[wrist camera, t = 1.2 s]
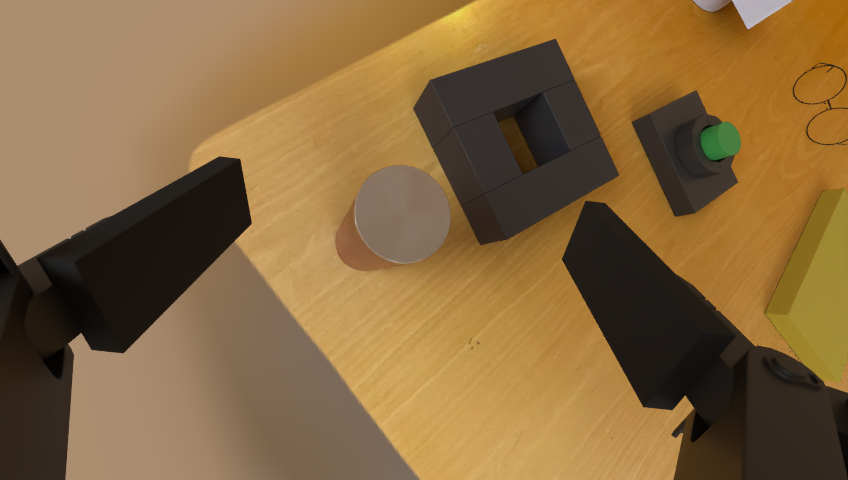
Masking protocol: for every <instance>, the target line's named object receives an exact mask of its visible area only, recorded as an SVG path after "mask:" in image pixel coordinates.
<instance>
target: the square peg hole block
mask: <svg viewBox="0 0 848 480" xmlns="http://www.w3.org/2000/svg"><path fill="white" fill-rule="evenodd" d="M413 109H414V111H415V113H416V115H417V117H418V119H419V121H420V123H421V125H422V127H423V129H424V131H425V133H426V135H427V138H428V140H429V142H430V144H431V146H432V148H433V149H434V152H435V154H436V156H437V158H438V160H439V162H440V164H441V166H442V168H443V170H444V172H445V174H446V176H447V178H448V180H449V182H450V184H451V186H452V188H453V190H454V192H455V194H456V197H457V199H458V201H459V203H460V205H462V208H463V211H464V213H465V215H466V217H467V219H468V221H469V223H470V225H471V227H472V229H473V231H474V233H475V235H476V237H477V239H478V241H479V243H480V245H483V244H488V243H493V242H497V241H502V240H507V239H509V238H511V237H513V236H515V235H516V234H518V233H520V232H522V231H523V230H525V229H527V228H529V227H530V226H532V225H534V224H535V223H537V222H539V221H541V220H542V219H544V218H546V217H548V216H549V215H551V214H553V213H555V212H556V211H558V210H560V209H562V208H563V207H565V206H567V205H569V204H570V203H572V202H574V201H576V200H577V199H579V198H581V197H583V196H584V195H586V194H588V193H590V192H591V191H593V190H595V189H596V188H598V187H600V186H602V185H603V184H605V183H607V182H609V181H610V180H612V179H614V178H616V177H617V176H619V174H618V171H617V169H616V167H615V165H614V163H613V161H612V159H611V156H610V154H609V152H608V150H607V148H606V146H605V144H604V141H603V139H602V137H601V135H600V133H599V131H598V128H597V126H596V124H595V122H594V120H593V118H592V116H591V113H590V111H589V109H588V107H587V105H586V103H585V101H584V98H583V96H582V94H581V92H580V90H579V88H578V86H577V83H576V81H575V80H574V77H573V75H572V73H571V70H570V68H569V66H568V64H567V62H566V60H565V58H564V55H563V53H562V51H561V49H560V47H559V45H558V43H557V40H556V39H554V40H551V41H548V42H545V43H541V44H538V45H535V46H532V47H529V48H526V49H523V50H520V51H517V52H514V53H511V54H508V55H505V56H502V57H499V58H496V59H493V60H490V61H487V62H483V63H480V64H477V65H474V66H471V67H468V68H465V69H462V70H459V71H456V72H453V73H450V74H447V75H444V76H441V77H438V78H435V79H432V80H430V81H429V83H428V84H427V86H426V88H425V89H424V91H423V93H422V95H421V96H420V98H419V100H418V101H417V103H416V105H415V106H414V108H413ZM512 116H514V118H515V120H516V122H517V124H518V126H519V128H520V130H521V132H522V134H523V136H524V139H525V141H526V143H527V145H528V147H529V149H530V151H531V153H532V155H533V157H534V159H535V162H536V164H537V166H538V167H537V168H535V169H533V170H531V171H529V172H527V173H525V174H523V173H522V171H521V169H520V167H519V165H518V163H517V161H516V159H515V157H514V155H513V153H512V150H511V148H510V146H509V144H508V142H507V140H506V138H505V136H504V134H503V132H502V130H501V128H500V125H499V123H498V122H500V121H502V120H505V119H507V118H510V117H512Z"/></svg>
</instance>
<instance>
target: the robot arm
mask: <svg viewBox="0 0 848 480" xmlns="http://www.w3.org/2000/svg"><path fill="white" fill-rule="evenodd" d="M251 224H252V222H251V216H250V211H249V205H248V200H247V194H246V188H245V183H244V177H243V172H242V166H241V161H240V159H236V158H228V157H220V156H219V157H218V158H216V159H214V160H212V161H210V162H209V163H207V164H205V165H203V166H201V167H200V168H198V169H196V170H194V171H192V172H191V173H189V174H187V175H185V176H183V177H182V178H180V179H178V180H176V181H174V182H173V183H171V184H169V185H167V186H165V187H164V188H162V189H160V190H158V191H156V192H155V193H153V194H151V195H149V196H147V197H146V198H144V199H142V200H140V201H138V202H137V203H135V204H133V205H131V206H129V207H128V208H126V209H124V210H122V211H120V212H119V213H117V214H115V215H113V216H110V217H108V218H104V219H102V220H100V221H98V222H97V223H95V224H93V225H91V226H89V227H87V228H86V230H85V231H83V230H82V231H80V232H78V233H76V234H75V235H73V236H71V239H65V240H64V241H62V242H60V243H58V244H56V245H55V246H53V247H51V248H49V249H47V250H45V251H44V252H42V253H40V254H38V255H37V256H34V257H33V258H31V259H29V260H27V261H25V262H24V263H22V264H20V265H18V266H17V265H16V263H15V262H14V260H13V259H12V257H11V256H10V254H9V253H8V251H7V249H6V248H5V246H4V245H3V243H2V242H1V240H0V480H65V475H66V462H67V446H68V433H69V418H70V404H71V389H72V388H71V387H72V374H73V360H74V354H73V352H72V349H71V348H70V346H69V345H68V343H70V342H71V341H72V340H73V339H74V338H76V337H77V336H78V335H79V334H80V333H82V335H83V336H84V338H85V340H86V341H87V343H88V344H89V346H90V348H91V350H97V351H107V352H117V353H124V352H125V351H126V350H127V349H128V348H129V347H130V346H131V345H132V344H133V343H134V342H135V341H136V340H137V339H138V338H139V337H140V336H141V335H142V334H143V333H144V332H145V331H146V330H147V329H148V328H149V327H150V326H151V325H152V324H153V323H154V322H155V321H156V320H157V319H158V318H159V317H160V316H161V315H162V314H163V313H164V312H165V311H166V310H167V309H168V308H169V307H170V306H171V305H172V304H173V303H174V302H175V300H177V299H178V297H180V296H181V294H183V293H184V292H185V291H186V290H187V289H188V288H189V286H191V285H192V283H194V281H195V280H196V279H197V278H198V277H199V276H200V275H201V274H202V273H203V272H204V271H205V270H206V269H207V268H208V267H209V266H210V265H211V264H212V263H213V262H214V261H215V260H216V259H217V258H218V257H219V256H220V255H221V254H222V253H223V252H224V251H225V250H226V249H227V248H228V247H229V246H230V245H231V244H232V243H233V242H234V241H235V240H236V239H237V238H238V237H239V236H240V235H241V234H242V233H243V232H244V231H245V230H246V229H247V228H248V227H249V226H250V225H251ZM562 260H563V262H564V264H565V266H566V268H567V270H568V271H569V273H570V275H571V277H572V279H573V280H574V282H575V284H576V286H577V288H578V289H579V291H580V293H581V295H582V297H583V299H584V300H585V302H586V304H587V306H588V308H589V309H590V311H591V313H592V315H593V317H594V318H595V320H596V322H597V324H598V326H599V328H600V329H601V331H602V333H603V335H604V337H605V338H606V340H607V342H608V344H609V346H610V347H611V349H612V351H613V353H614V355H615V356H616V358H617V360H618V362H619V364H620V366H621V367H622V369H623V371H624V373H625V375H626V376H627V378H628V380H629V382H630V384H631V385H632V387H633V389H634V391H635V393H636V395H637V396H638V398H639V400H640V402H641V404H642V405H643V407H647V408H657V409H667V410H673V409H674V408H675V406H676V405H677V404H678V403H679V402H680V401H681V400H682V398H683V397H684V396H685V395H686V397H687V398H688V400H689V401H690V403H691V404H692V406H693V407H694V409H693V410H692V411H691V413H690V414H689V415H688V416H687V417H686V418H685V419H684V420H683V421H682V422H681V423H680V424H679V426H678V427H677V428H676V429H675V430H674V431H673V433H672V434H671V435H672V436H674V437H675V438H676V437H677V436H678V435H679V434H680V433H683V437H682V442H681V447H680V452H679V456H678V461H677V466H676V471H675V475H674V480H848V393H846V392H843V391H840V390H837V389H834V388H831V387H828V386H825V384H824V382H823V381H822V380H821V379H820V378H819V377H818V376H817V375H816V374H815V373H814V372H813V371H812V370H810V369H809V368H808V367H806V366H805V365H803V364H802V363H801V362H799V361H797V360H795V359H794V358H792V357H790V356H788V355H786V354H784V353H782V352H779V351H777V350H774V349H771V348H767V347H762V346H754V345H753V344H752V343H751V342H750V341H749V340H748V339H747V338H746V337H745V336H744V335H743V334H742V333H741V332H740V331H739V330H738V329H737V328H736V327H735V326H734V325H733V324H732V323H731V322H730V321H729V320H728V319H727V318H726V317H725V316H724V315H723V314H722V313H721V312H720V311H717V310H716V308H715V307H714V306H713V305H712V304H711V303H710V302H709V301H708V300H705V297H704V296H703V295H702V294H701V293H700V292H699V291H698V290H697V289H696V288H695V287H694V286H693V285H692V284H690V283H689V282H687V281H686V280H684V279H682V278H681V277H679V276H678V275H676V274H675V273H674V272H673V271H672V270H671V269H670V268H669V267H668V266H667V265H666V264H665V263H664V262H663V261H662V260H661V259H660V258H659V257H658V256H657V255H656V254H655V253H654V252H653V251H652V250H651V249H650V248H649V247H648V246H647V245H646V244H645V243H644V242H643V241H642V240H641V239H640V238H639V237H638V236H637V235H636V234H635V233H634V232H633V231H632V230H631V229H630V228H629V227H628V226H627V225H626V224H625V223H624V222H623V221H622V220H621V219H620V218H619V217H618V216H617V215H616V214H615V213H614V212H613V211H612V210H611V209H610V208H609V207H608V206H607V205H606V204H605V203H599V202H591V201H585V204H584V206H583V209H582V211H581V214H580V216H579V218H578V221H577V223H576V226H575V228H574V231H573V233H572V236H571V238H570V241H569V243H568V246H567V248H566V251H565V253H564V256H563V258H562Z"/></svg>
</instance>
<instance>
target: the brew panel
mask: <svg viewBox="0 0 848 480" xmlns="http://www.w3.org/2000/svg"><path fill="white" fill-rule="evenodd" d="M720 123H722V122H721V120H720V119H719V118H718V117H716V116H712V115H708V114H707V112H706V110H705V108H704V106H703V103H702V101H701V99H700V97H699V95H698V92H697V91H694V92H692V93H690V94H688V95H686V96H684V97H682V98H680V99H678V100H676V101H674V102H672V103H670V104H668V105H666V106H664V107H662V108H660V109H658V110H656V111H654V112H652V113H650V114H648V115H646V116H644V117H642V118H640V119H638V120H636V121H634V122H632V124H633V126H634V128H635V130H636V132H637V135H638V137H639V139H640V141H641V143H642V145H643V148H644V150H645V152H646V154H647V156H648V158H649V161H650V163H651V165H652V167H653V169H654V171H655V174H656V176H657V178H658V180H659V182H660V184H661V187H662V189H663V191H664V193H665V195H666V197H667V200H668V202H669V204H670V206H671V208H672V210H673V212H674V215H675V216H681V215H687V214H692V213H696V212H697V211H699V210H700V209H702V208H703V207H704V206H706V205H707V204H709V203H710V202H711V201H713V200H714V199H715V198H717V197H718V196H720V195H721V194H722V193H724V192H725V191H727V190H728V189H729V188H731V187H732V186H734V185H735V184H736V183H738V181H737V179H736V177H735V174H734V172H733V170H732V168H731V164H732V161H733V158H734V155H732V156H728V157H725V158H722V159H718V160H710V159H709V158H708V157H707V156H706V155H705V153H704V150H703V148H702V146H701V133H702V131H703V130H704V129H707V128H709V127H712V126H715V125H717V124H720Z"/></svg>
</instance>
